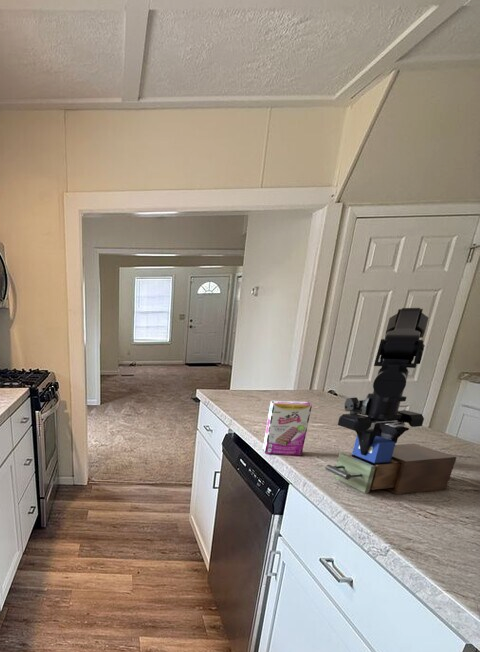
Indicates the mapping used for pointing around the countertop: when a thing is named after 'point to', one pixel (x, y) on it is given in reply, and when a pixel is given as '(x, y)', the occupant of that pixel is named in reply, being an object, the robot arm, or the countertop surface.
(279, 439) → the candy bar box
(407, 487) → the cabinet
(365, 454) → the robot arm
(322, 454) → the countertop surface
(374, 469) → the drawer
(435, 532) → the countertop surface
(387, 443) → the block
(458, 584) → the countertop surface
